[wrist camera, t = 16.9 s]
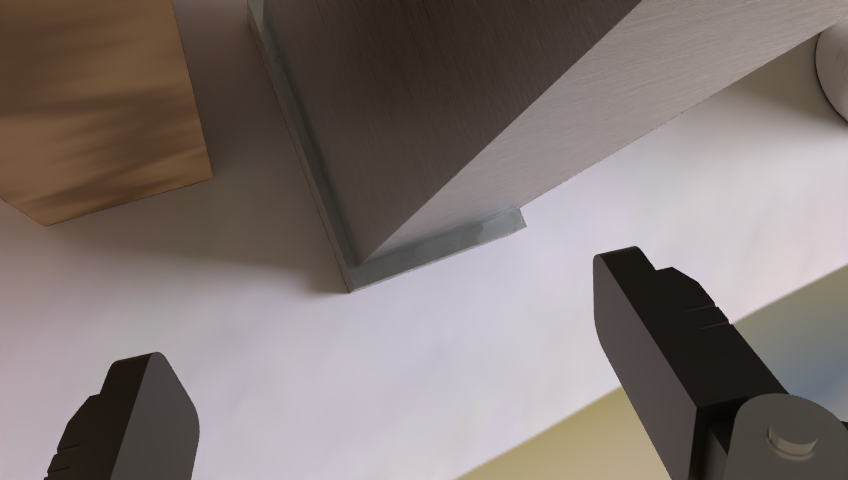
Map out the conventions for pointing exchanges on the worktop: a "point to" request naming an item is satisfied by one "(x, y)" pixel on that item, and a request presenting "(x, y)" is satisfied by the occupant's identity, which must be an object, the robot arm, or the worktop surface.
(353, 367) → the worktop surface
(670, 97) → the tall dark grey pillar
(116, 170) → the block
